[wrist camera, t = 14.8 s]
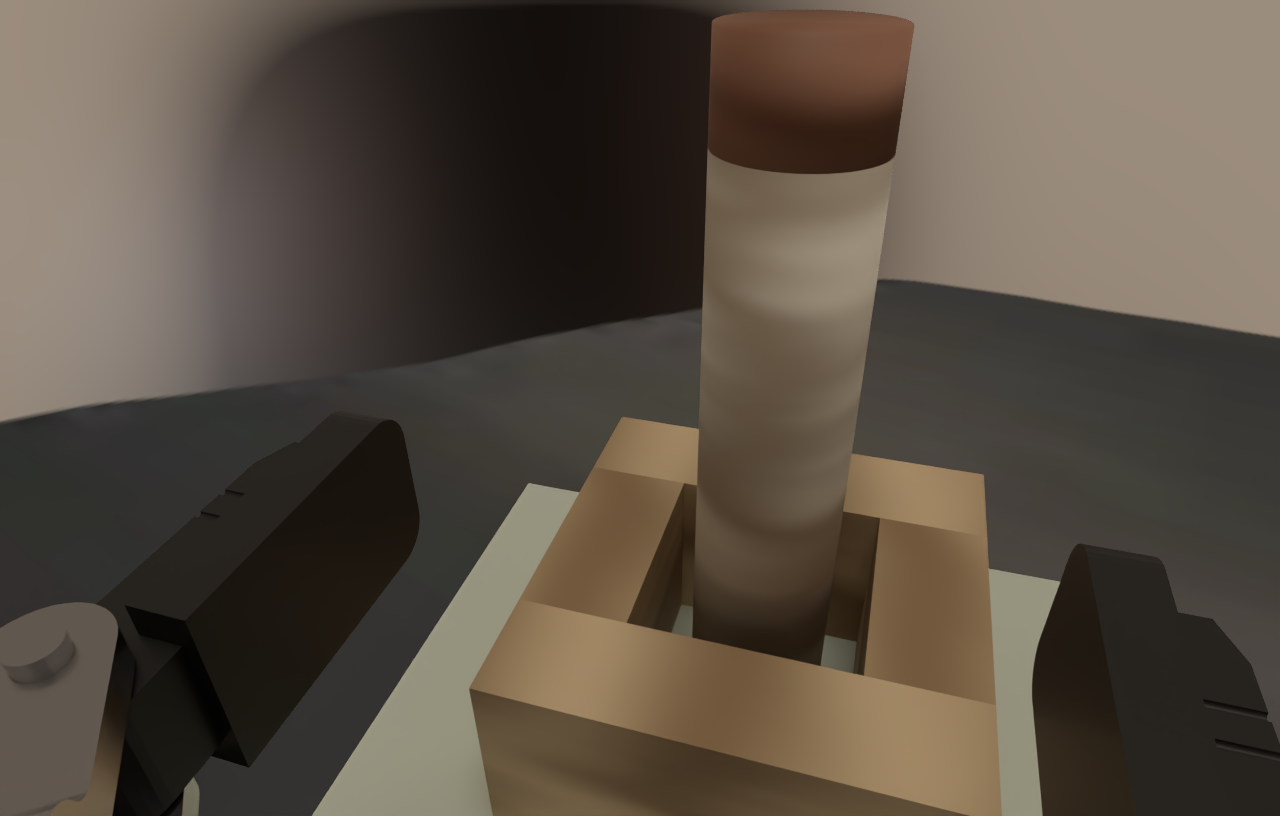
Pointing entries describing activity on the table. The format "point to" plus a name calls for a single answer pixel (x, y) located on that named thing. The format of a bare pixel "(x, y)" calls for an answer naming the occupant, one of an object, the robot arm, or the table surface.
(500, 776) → the wooden square frame
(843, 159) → the peg
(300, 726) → the table surface
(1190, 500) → the table surface
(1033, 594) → the mat
